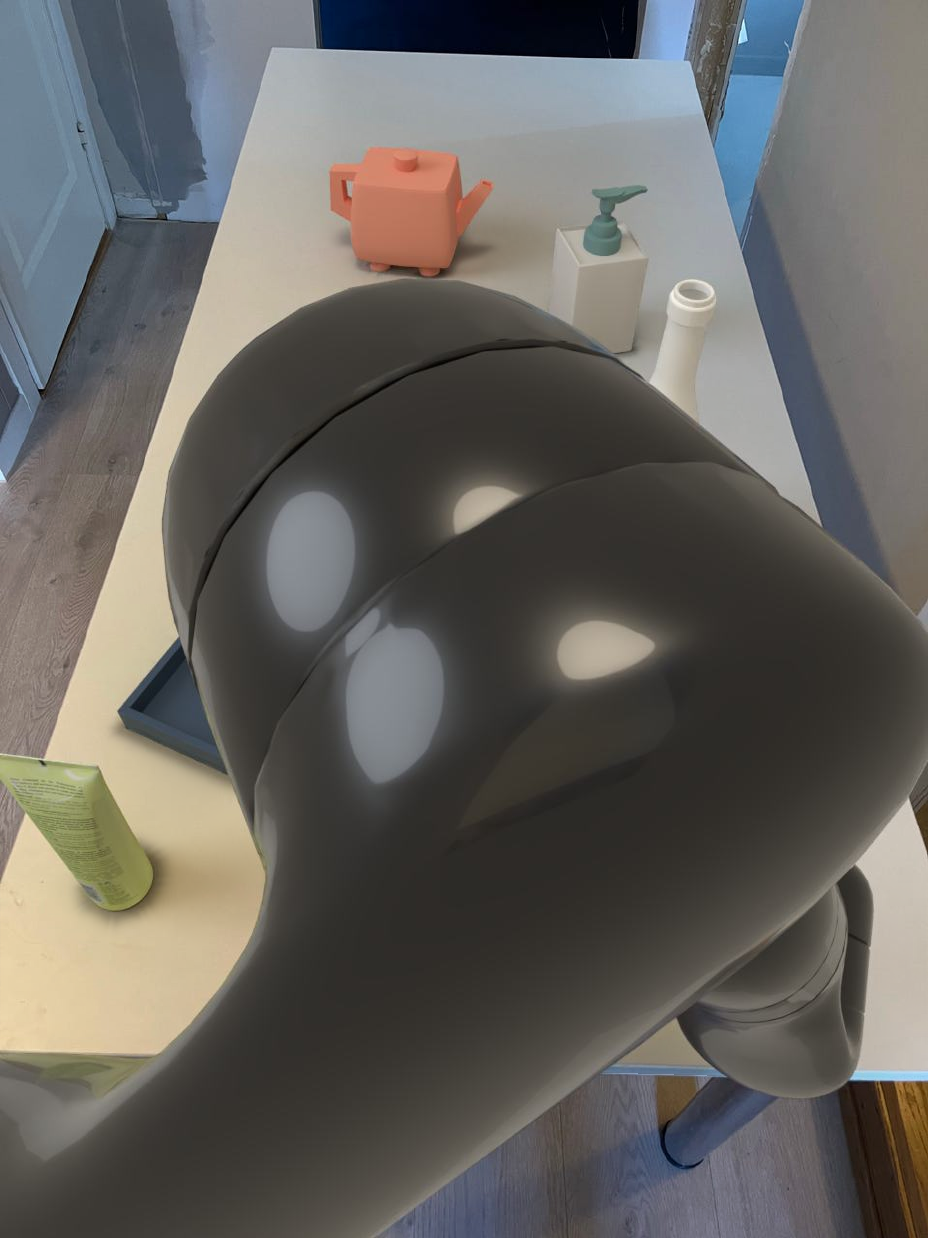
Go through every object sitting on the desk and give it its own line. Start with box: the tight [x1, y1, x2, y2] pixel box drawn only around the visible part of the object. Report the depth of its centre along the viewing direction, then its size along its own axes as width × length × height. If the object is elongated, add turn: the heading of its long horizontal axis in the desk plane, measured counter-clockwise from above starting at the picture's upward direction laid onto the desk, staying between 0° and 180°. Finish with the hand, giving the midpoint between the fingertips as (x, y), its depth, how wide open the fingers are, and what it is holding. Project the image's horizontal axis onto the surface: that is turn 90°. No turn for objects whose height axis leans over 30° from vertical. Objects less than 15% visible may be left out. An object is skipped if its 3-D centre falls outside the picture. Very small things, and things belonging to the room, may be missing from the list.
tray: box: [116, 636, 228, 775], centre depth 88 cm, size 36×12×3 cm, turn 155°
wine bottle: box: [648, 278, 718, 424], centre depth 82 cm, size 10×10×30 cm
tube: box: [0, 752, 154, 912], centre depth 64 cm, size 6×5×20 cm
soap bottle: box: [547, 184, 649, 354], centre depth 109 cm, size 9×9×19 cm
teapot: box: [328, 146, 495, 277], centre depth 122 cm, size 22×13×14 cm, turn 81°
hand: (365, 894), depth 65 cm, fingers closed on supplement bottle, 5 cm apart
